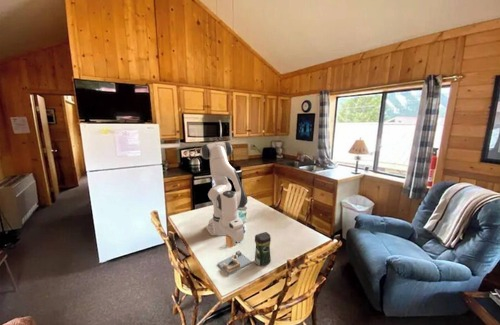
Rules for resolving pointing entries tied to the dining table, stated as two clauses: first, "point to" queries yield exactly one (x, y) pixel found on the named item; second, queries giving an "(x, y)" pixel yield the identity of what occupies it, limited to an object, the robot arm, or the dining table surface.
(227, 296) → the dining table surface
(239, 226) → the robot arm
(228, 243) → the block
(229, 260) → the routing panel
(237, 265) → the bracket
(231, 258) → the routed cable
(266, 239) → the coffee jar
